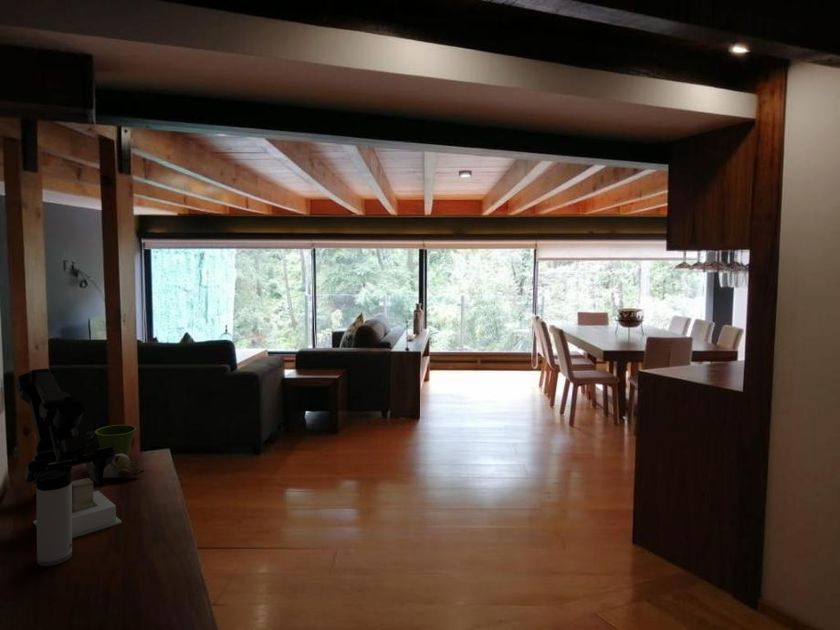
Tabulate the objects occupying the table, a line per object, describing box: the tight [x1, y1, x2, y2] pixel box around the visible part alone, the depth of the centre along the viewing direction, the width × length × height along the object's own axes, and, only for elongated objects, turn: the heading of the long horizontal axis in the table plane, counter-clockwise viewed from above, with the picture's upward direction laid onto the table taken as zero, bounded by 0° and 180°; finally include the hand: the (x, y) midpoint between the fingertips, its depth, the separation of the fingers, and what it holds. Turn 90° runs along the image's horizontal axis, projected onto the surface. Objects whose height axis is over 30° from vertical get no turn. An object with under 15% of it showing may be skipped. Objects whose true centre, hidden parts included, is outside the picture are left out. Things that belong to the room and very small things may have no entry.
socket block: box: [33, 490, 123, 539], centre depth 127 cm, size 15×15×5 cm
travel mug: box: [35, 465, 73, 567], centre depth 111 cm, size 6×7×20 cm
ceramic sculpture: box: [85, 453, 145, 483], centre depth 157 cm, size 11×9×15 cm
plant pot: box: [94, 424, 137, 458], centre depth 168 cm, size 12×12×11 cm
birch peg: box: [71, 477, 94, 513], centre depth 127 cm, size 4×4×10 cm
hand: (79, 493), depth 126 cm, fingers open, 9 cm apart
